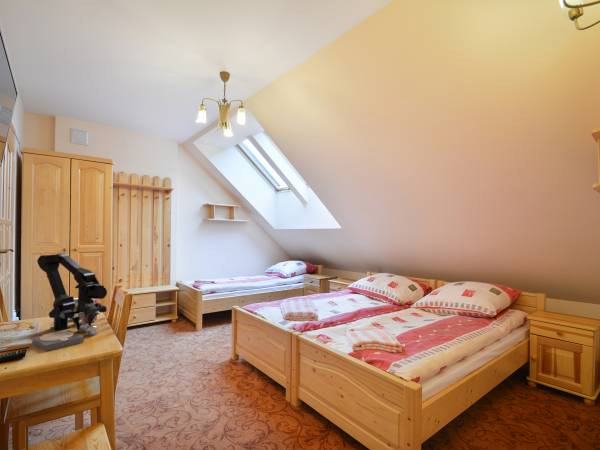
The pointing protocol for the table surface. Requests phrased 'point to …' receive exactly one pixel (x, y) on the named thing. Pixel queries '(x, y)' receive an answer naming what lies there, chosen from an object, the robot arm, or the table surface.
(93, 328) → the cylinder
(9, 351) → the table surface
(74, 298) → the pill bottle
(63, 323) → the robot arm
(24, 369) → the table surface
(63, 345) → the scale
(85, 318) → the soda can
